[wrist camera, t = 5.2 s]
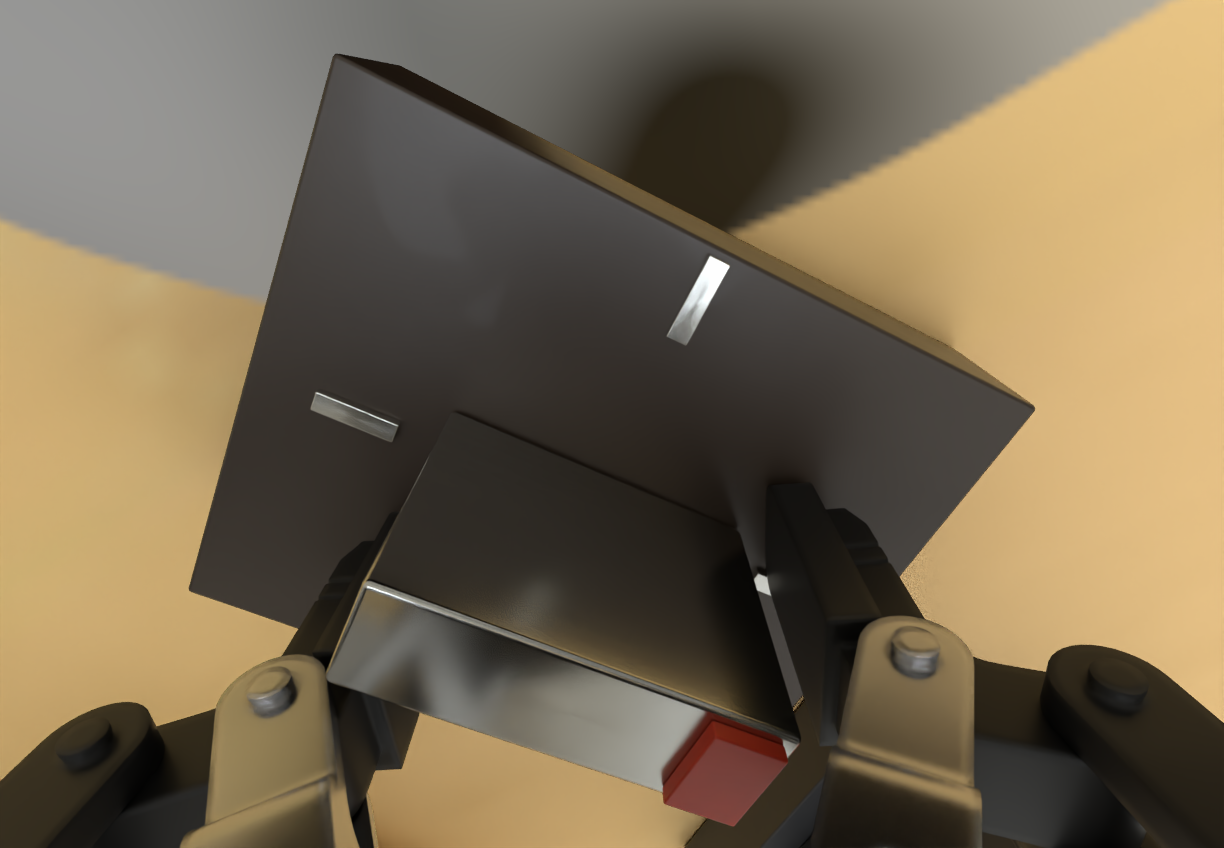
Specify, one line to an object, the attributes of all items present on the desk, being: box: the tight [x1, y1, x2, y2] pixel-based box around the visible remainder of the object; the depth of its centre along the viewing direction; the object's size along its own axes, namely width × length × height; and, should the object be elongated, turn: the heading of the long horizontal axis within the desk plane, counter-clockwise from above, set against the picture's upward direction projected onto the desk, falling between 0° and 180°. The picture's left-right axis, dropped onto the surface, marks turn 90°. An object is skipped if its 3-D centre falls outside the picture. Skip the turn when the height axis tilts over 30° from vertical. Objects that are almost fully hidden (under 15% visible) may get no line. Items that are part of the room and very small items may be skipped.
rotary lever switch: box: [189, 54, 1035, 708], centre depth 13 cm, size 12×10×3 cm
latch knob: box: [326, 413, 801, 826], centre depth 10 cm, size 6×2×5 cm, turn 64°
